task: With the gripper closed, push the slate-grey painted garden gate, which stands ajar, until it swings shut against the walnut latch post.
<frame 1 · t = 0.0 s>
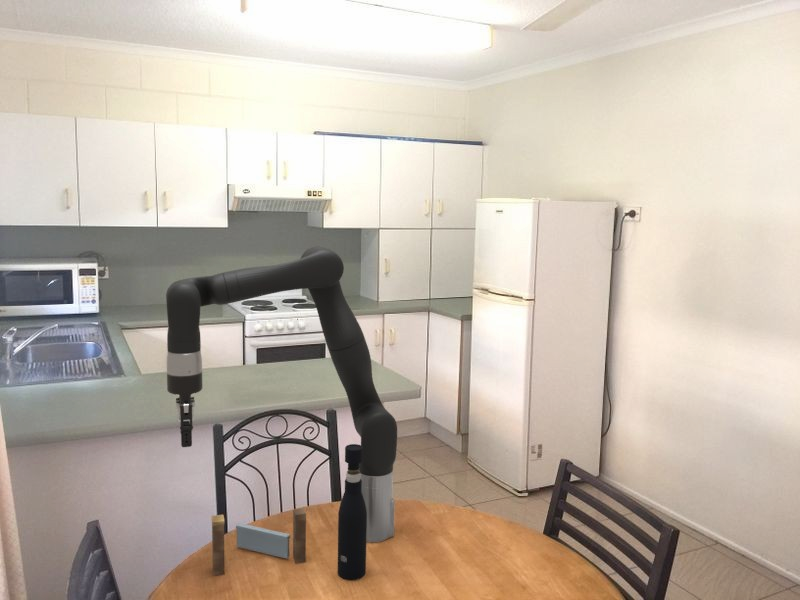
hand: (186, 439, 153), 29 cm above the table, fingers open, 8 cm apart
gate frame: (292, 560, 158), on the table
gate: (262, 540, 161), point 3 cm above the table, hinge at -40.0°
black water bottle: (351, 573, 154), on the table
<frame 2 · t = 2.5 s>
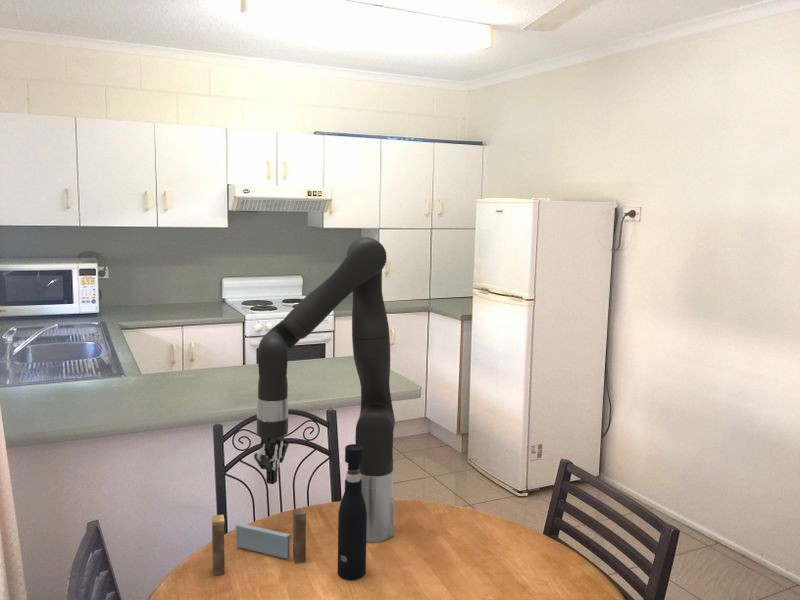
hand: (271, 482, 167), 14 cm above the table, fingers closed
nothing on the table moved.
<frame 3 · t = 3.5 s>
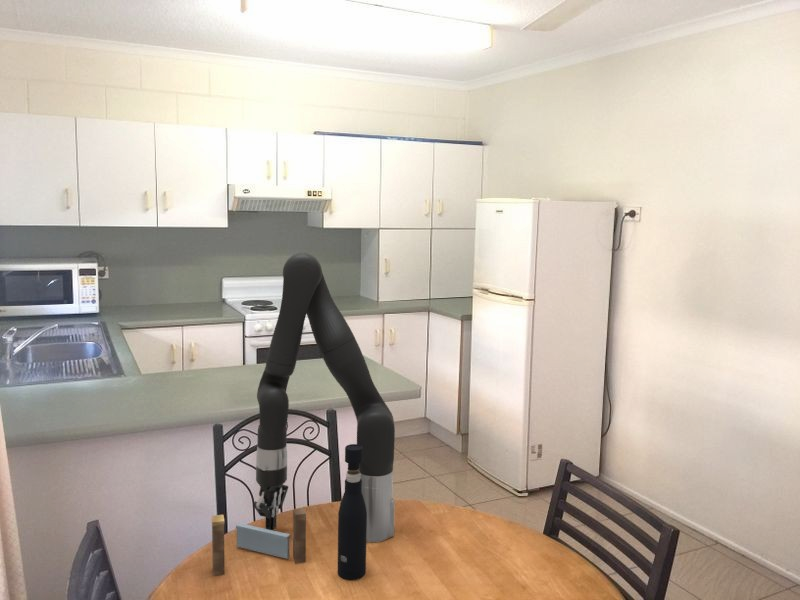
hand: (270, 528, 169), 2 cm above the table, fingers closed
nothing on the table moved.
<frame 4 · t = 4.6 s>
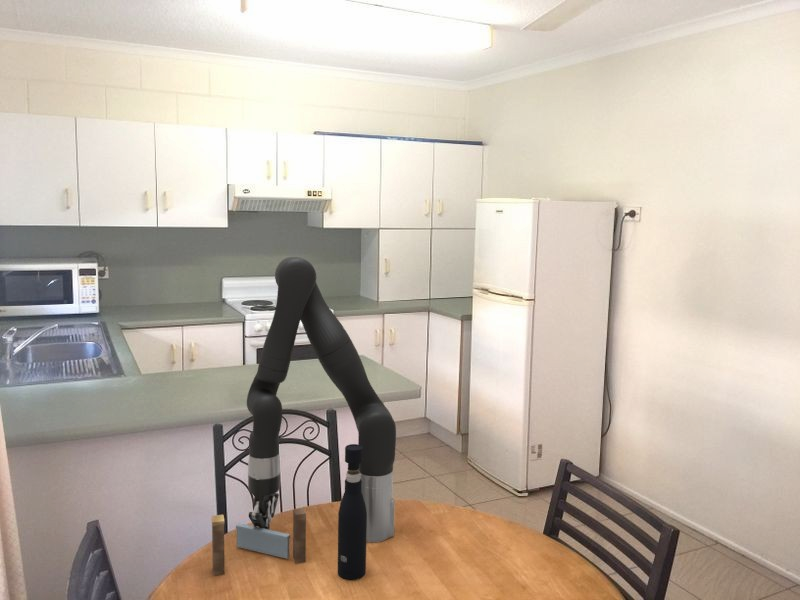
hand: (264, 538, 165), 2 cm above the table, fingers closed
gate: (262, 540, 161), point 3 cm above the table, hinge at -40.0°, touching gripper
everything else where it was.
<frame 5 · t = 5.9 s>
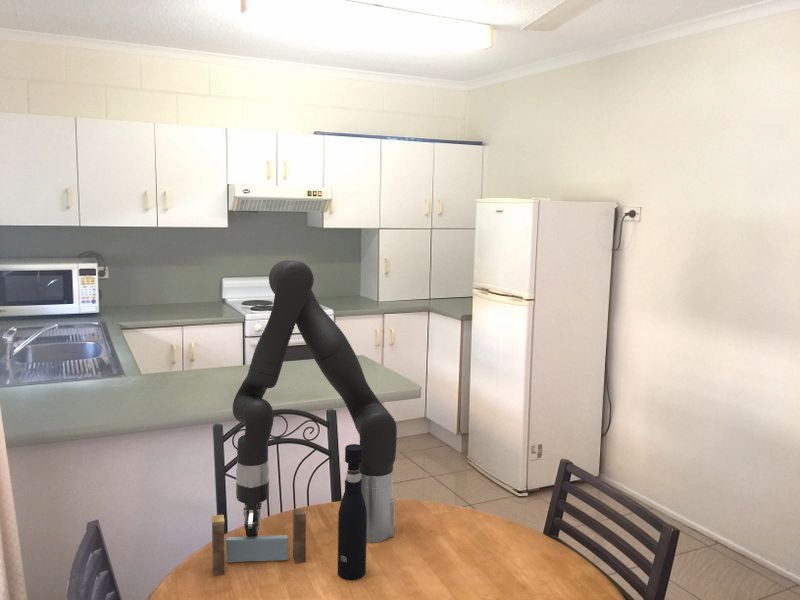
hand: (252, 547, 161), 2 cm above the table, fingers closed
gate: (257, 548, 157), point 3 cm above the table, hinge at -12.5°, touching gripper
everything else where it was.
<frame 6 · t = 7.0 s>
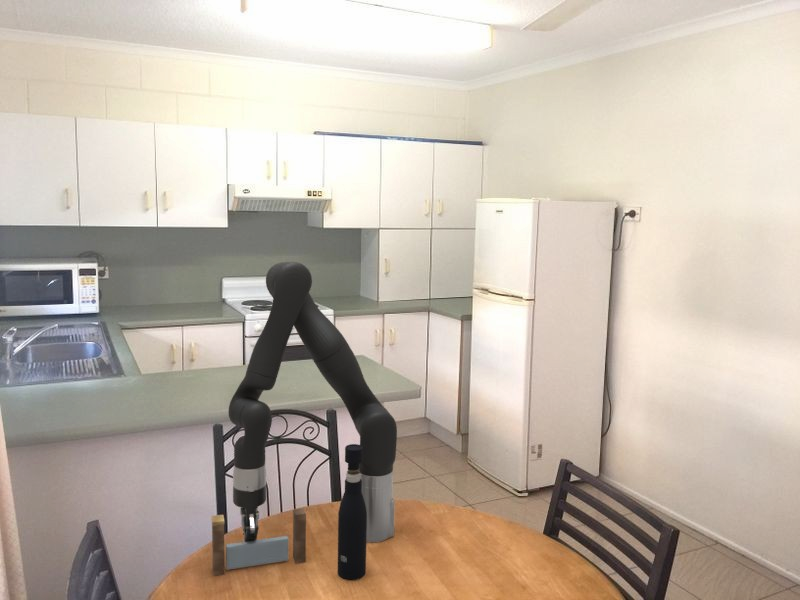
hand: (249, 552, 159), 2 cm above the table, fingers closed
gate: (257, 552, 155), point 3 cm above the table, hinge at 0.2°, touching gripper
everything else where it was.
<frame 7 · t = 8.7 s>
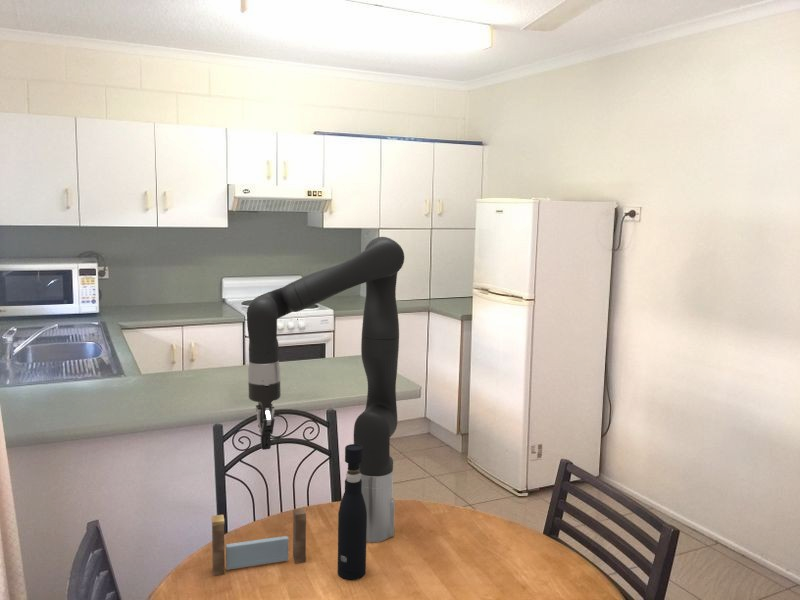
hand: (265, 448, 165), 24 cm above the table, fingers closed
gate: (257, 552, 155), point 3 cm above the table, hinge at 0.2°
everything else where it was.
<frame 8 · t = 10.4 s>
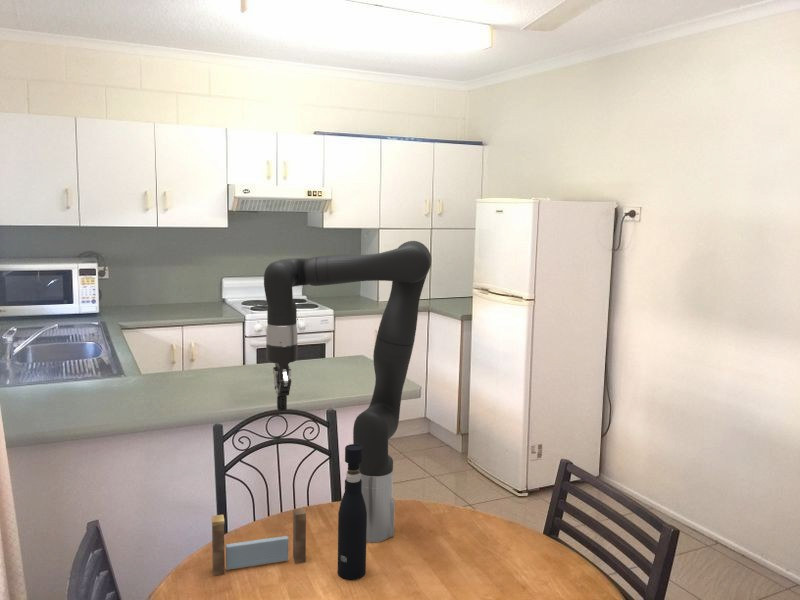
hand: (281, 409, 168), 32 cm above the table, fingers closed
nothing on the table moved.
at the end: gate at +0° (first picture: -40°); black water bottle moved 0.2 cm from its start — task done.
